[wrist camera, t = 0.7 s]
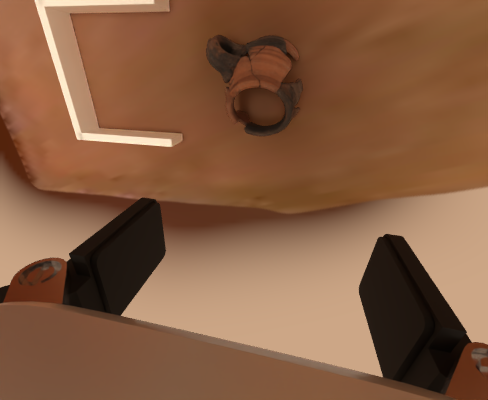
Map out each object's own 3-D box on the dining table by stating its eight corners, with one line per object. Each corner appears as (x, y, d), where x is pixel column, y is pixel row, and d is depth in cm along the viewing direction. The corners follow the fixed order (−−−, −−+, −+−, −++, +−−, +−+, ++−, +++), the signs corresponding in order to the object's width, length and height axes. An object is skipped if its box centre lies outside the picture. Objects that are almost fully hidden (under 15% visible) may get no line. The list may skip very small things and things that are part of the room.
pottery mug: (323, 57, 27) (320, 103, 23) (276, 112, 35) (268, 154, 31) (231, -13, 24) (208, 26, 19) (201, 66, 31) (180, 106, 27)
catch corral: (60, 3, 30) (33, -5, 26) (168, 0, 27) (152, -9, 24) (95, 134, 37) (77, 139, 34) (182, 140, 35) (172, 146, 32)
